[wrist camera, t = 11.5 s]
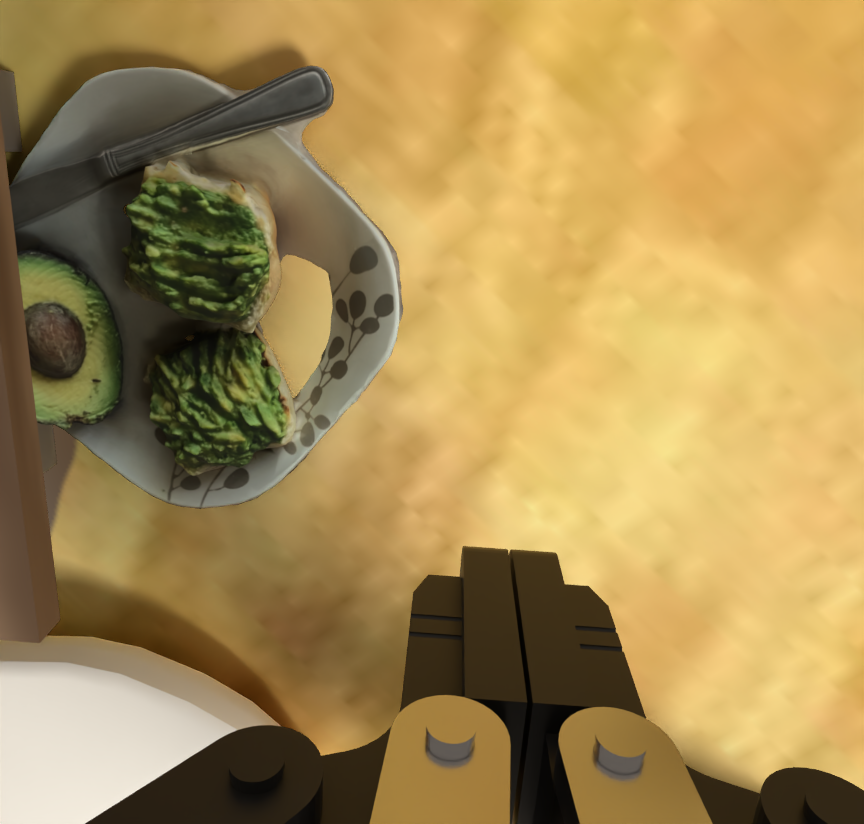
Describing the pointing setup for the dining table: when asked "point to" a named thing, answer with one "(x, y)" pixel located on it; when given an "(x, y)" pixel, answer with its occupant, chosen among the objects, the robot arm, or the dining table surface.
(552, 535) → the dining table surface
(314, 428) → the salad plate
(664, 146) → the dining table surface
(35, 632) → the overhang shelf
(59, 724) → the white round disc
